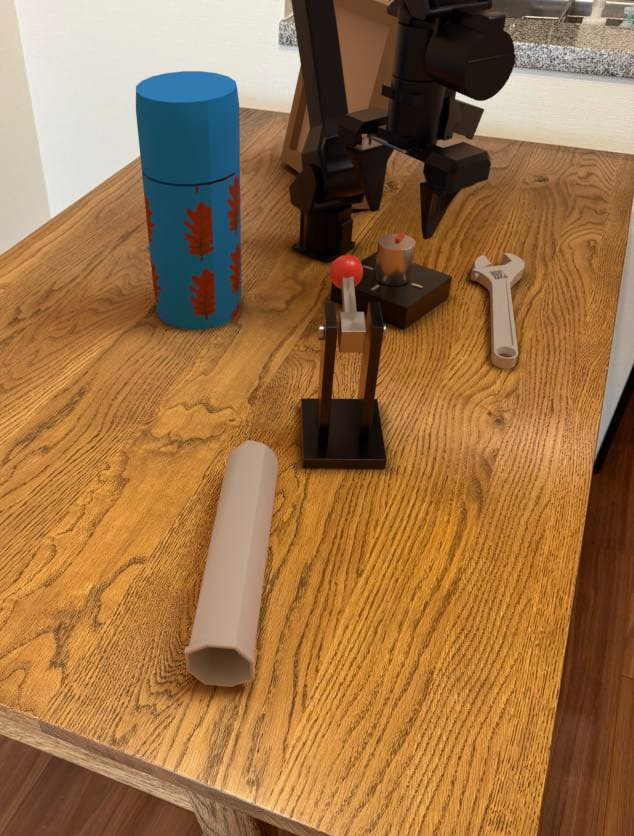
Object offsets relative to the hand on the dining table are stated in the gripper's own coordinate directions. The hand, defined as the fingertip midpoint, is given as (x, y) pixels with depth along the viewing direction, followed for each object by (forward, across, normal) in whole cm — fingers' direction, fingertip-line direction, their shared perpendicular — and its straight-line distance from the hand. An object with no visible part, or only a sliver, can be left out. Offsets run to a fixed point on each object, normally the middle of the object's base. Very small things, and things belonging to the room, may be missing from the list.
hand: (400, 224), depth 91 cm
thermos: (+10, +12, +21) cm, 26 cm away
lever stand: (+10, -18, +22) cm, 30 cm away
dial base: (+10, 0, 0) cm, 10 cm away
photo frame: (+10, +33, -20) cm, 40 cm away
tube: (+10, -27, +40) cm, 50 cm away
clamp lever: (-1, -14, +19) cm, 24 cm away
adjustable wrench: (+10, -9, -9) cm, 16 cm away
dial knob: (+7, 0, 0) cm, 7 cm away
